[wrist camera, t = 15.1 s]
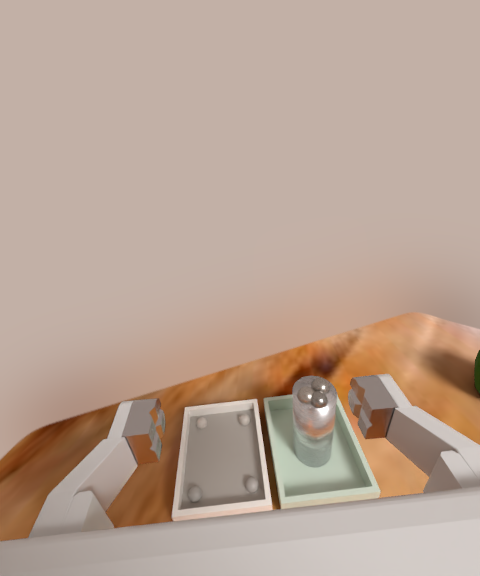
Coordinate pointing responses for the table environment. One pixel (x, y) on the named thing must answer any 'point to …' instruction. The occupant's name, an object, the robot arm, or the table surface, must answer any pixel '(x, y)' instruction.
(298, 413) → the chrome tube with bumps
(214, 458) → the bin
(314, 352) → the table surface
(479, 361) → the bell pepper
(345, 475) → the bin
